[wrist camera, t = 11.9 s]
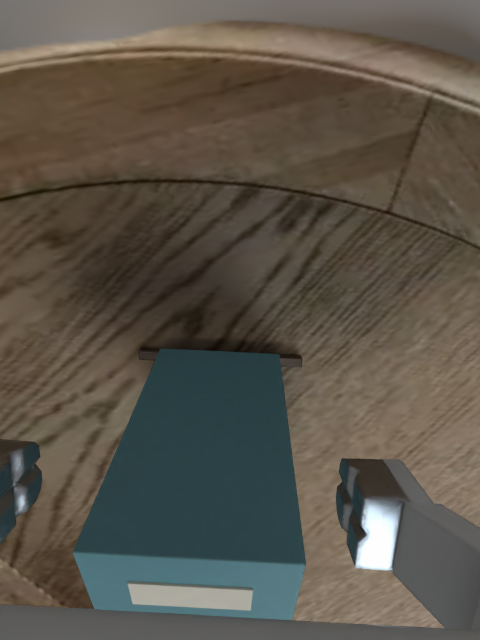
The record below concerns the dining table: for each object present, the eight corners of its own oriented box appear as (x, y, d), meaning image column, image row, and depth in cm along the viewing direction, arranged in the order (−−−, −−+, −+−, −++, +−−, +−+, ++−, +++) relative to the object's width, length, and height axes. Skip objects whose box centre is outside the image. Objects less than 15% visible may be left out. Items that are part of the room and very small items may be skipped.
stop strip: (141, 347, 21) (138, 350, 20) (300, 355, 21) (302, 358, 20) (141, 356, 21) (138, 359, 20) (300, 364, 21) (301, 367, 20)
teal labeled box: (70, 555, 10) (96, 622, 12) (306, 567, 10) (290, 632, 12) (160, 347, 20) (165, 405, 22) (279, 353, 20) (273, 410, 22)
